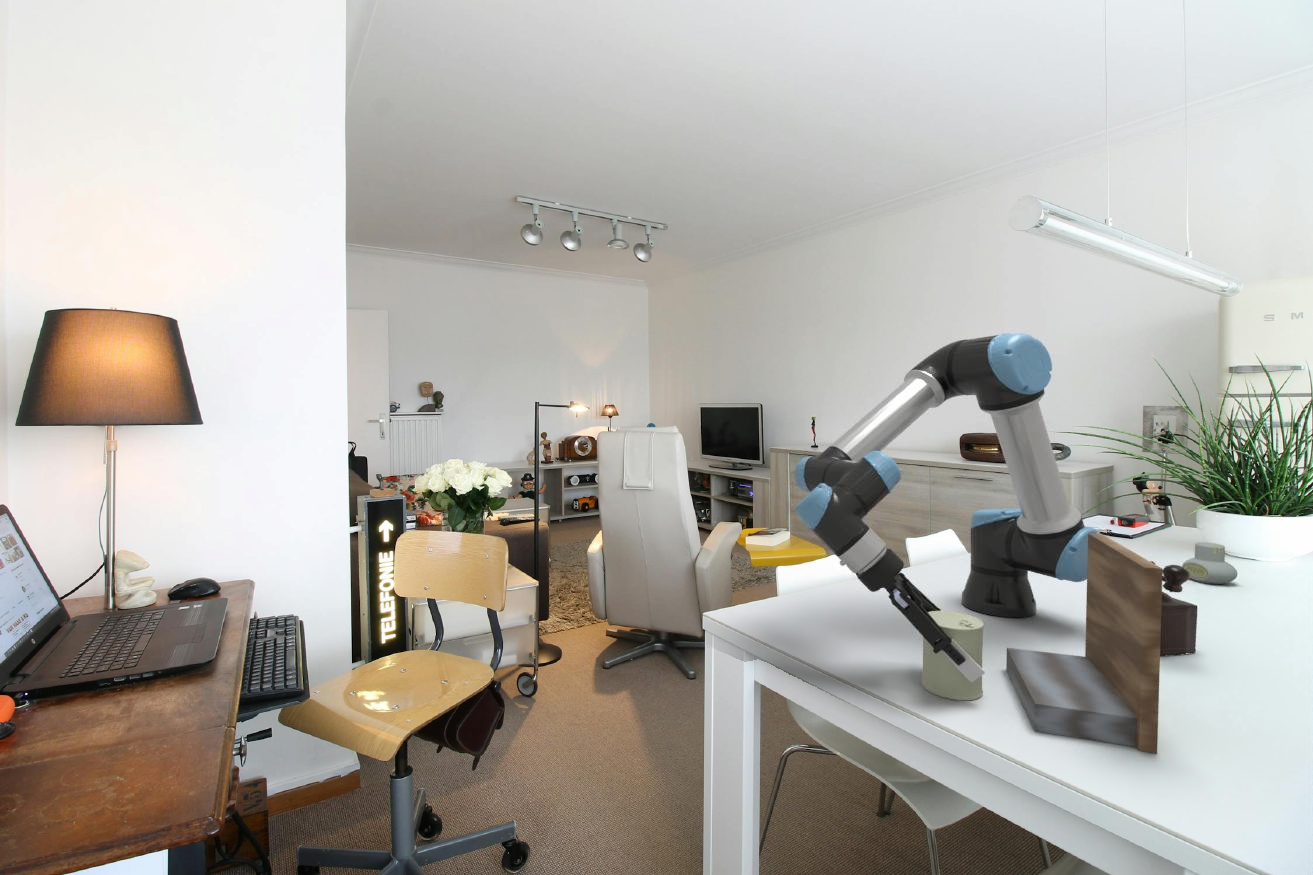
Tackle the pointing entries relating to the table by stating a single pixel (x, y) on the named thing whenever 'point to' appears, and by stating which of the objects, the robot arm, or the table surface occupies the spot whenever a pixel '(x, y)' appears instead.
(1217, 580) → the air freshener
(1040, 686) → the l-shaped bookend
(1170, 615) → the dark brown coffee grinder
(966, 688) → the can
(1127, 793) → the table surface
